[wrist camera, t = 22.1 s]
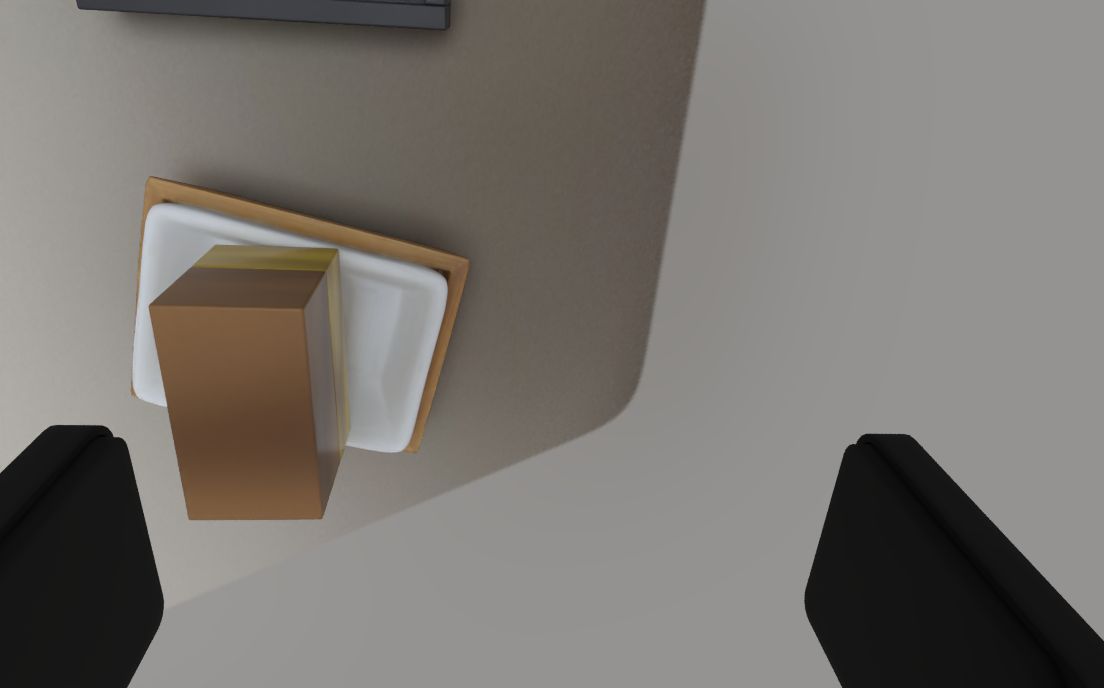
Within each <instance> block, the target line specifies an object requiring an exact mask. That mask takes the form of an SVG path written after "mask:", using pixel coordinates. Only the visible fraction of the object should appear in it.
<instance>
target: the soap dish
mask: <svg viewBox="0 0 1104 688" xmlns="http://www.w3.org/2000/svg"><path fill="white" fill-rule="evenodd" d="M216 244H218V245H249V246H279V247H310V248H337V249H338V250H339V260H340V275H341V290H342V305H343V320H344V335H345V350H346V365H347V380H348V396H349V411H350V426H351V429H350V432H349V435H348V438H347V442H346V446H351V447H356V448H361V449H366V450H373V451H379V452H388V453H393V452H400V451H406V452H413V453H414V452H417V450H418V449H419V446H420V443H421V440H422V436H423V433H424V429H425V425H426V422H427V419H428V416H429V412H430V408H431V405H432V401H433V398H434V394H435V390H436V387H437V383H438V380H439V376H440V373H441V369H442V366H443V362H444V358H445V354H446V351H447V347H448V344H449V340H450V336H451V332H452V328H453V325H454V321H455V318H456V314H457V311H458V307H459V303H460V300H461V296H462V292H463V289H464V285H465V281H466V277H467V274H468V270H469V265H470V260H469V259H467V258H465V257H462V256H459V255H456V254H453V253H450V252H448V251H444V250H441V249H437V248H434V247H430V246H426V245H422V244H418V243H415V242H411V241H407V240H403V239H399V238H395V237H392V236H388V235H384V234H380V233H376V232H373V231H369V230H365V229H361V228H357V227H353V226H350V225H346V224H342V223H338V222H334V221H330V220H327V219H323V218H319V217H315V216H311V215H307V214H304V213H300V212H296V211H292V210H288V209H285V208H281V207H277V206H273V205H269V204H265V203H262V202H258V201H254V200H250V199H246V198H243V197H239V196H235V195H231V194H227V193H224V192H220V191H216V190H212V189H208V188H204V187H200V186H195V185H190V184H186V183H181V182H177V181H172V180H167V179H162V178H158V177H152V176H151V177H149V178H148V179H147V182H146V187H145V196H144V207H143V219H142V229H141V240H140V252H139V267H138V278H137V298H136V319H135V331H134V333H135V334H134V347H133V364H132V382H131V394H132V395H133V396H135V397H137V398H140V399H142V400H144V401H147V402H150V403H153V404H156V405H160V406H164V407H167V402H166V397H165V392H164V386H163V381H162V376H161V371H160V365H159V360H158V355H157V350H156V344H155V339H154V334H153V328H152V323H151V318H150V313H149V304H150V303H152V302H153V301H154V300H155V299H156V298H157V297H158V296H159V295H160V294H161V293H163V292H164V291H165V290H166V289H167V288H168V287H169V286H170V285H171V284H172V283H174V282H175V281H176V280H177V279H178V278H179V277H180V276H181V275H182V274H184V273H185V272H186V271H187V270H188V269H189V268H191V267H192V265H193V264H194V263H195V262H197V261H198V260H199V259H200V258H201V257H202V256H203V255H204V254H205V253H207V252H208V251H209V250H210V249H211V248H212V247H213V246H214V245H216Z"/></svg>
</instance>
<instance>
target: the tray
mask: <svg viewBox="0 0 1104 688" xmlns="http://www.w3.org/2000/svg"><path fill="white" fill-rule="evenodd" d="M76 1H77V6H78V8H79V9H85V10H102V11H119V12H137V13H154V14H171V15H189V16H206V17H223V18H241V19H258V20H275V21H292V22H310V23H327V24H344V25H362V26H379V27H396V28H414V29H431V30H446V29H448V28H449V27H450V0H76Z"/></svg>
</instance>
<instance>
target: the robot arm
mask: <svg viewBox="0 0 1104 688" xmlns="http://www.w3.org/2000/svg"><path fill="white" fill-rule="evenodd" d="M804 602H805V610H806V614H807V617H808V619H809V622H810V624H811V626H812V628H813V630H814V632H815V634H816V636H817V638H818V640H819V642H820V644H821V646H822V648H823V650H824V652H825V654H826V656H827V658H828V660H829V662H830V664H831V666H832V668H833V670H834V672H835V674H836V676H837V678H838V680H839V682H840V684H841V686H842V688H1104V641H1103V640H1102V639H1101V638H1100V637H1099V636H1098V634H1096V632H1095V631H1094V630H1093V629H1092V628H1091V627H1090V626H1089V625H1088V624H1087V623H1086V622H1085V621H1084V619H1083V618H1082V617H1081V616H1080V615H1079V614H1078V613H1077V612H1076V611H1075V610H1074V609H1073V608H1072V607H1071V606H1070V604H1068V602H1067V601H1066V600H1065V599H1064V598H1063V597H1062V596H1061V595H1060V594H1059V593H1058V592H1057V591H1056V590H1055V589H1054V587H1053V586H1051V584H1050V583H1049V582H1048V581H1047V580H1046V579H1045V578H1044V577H1043V576H1042V575H1041V574H1040V572H1039V571H1038V570H1037V569H1036V568H1035V567H1034V566H1033V565H1032V564H1031V563H1030V562H1029V561H1028V560H1027V559H1026V557H1025V556H1024V555H1023V554H1022V553H1021V552H1020V551H1019V550H1018V549H1017V548H1016V547H1015V546H1014V545H1013V544H1012V543H1011V542H1010V540H1009V539H1008V538H1007V537H1006V536H1005V535H1004V534H1003V533H1002V532H1001V531H1000V530H999V529H998V528H997V527H996V525H995V524H994V523H993V522H992V521H991V520H990V519H989V518H988V517H987V516H986V515H985V514H984V513H983V512H982V510H981V509H979V507H978V506H977V505H976V504H975V503H974V502H973V501H972V500H971V499H970V498H969V497H968V496H967V494H966V493H965V492H964V491H963V490H962V489H961V488H960V487H959V486H958V485H957V484H956V483H955V482H954V481H953V480H952V479H951V477H950V476H949V475H948V474H947V473H946V472H945V471H944V470H943V469H942V468H941V467H940V466H939V465H938V464H937V462H935V460H934V459H933V458H932V457H931V456H930V455H929V454H928V453H927V452H926V451H925V450H924V449H923V447H922V446H921V445H920V444H919V443H918V442H917V441H916V440H915V439H914V438H912V437H911V436H910V435H906V434H865V435H862V436H861V437H860V438H859V439H858V441H857V443H856V444H852V445H849V446H848V447H847V449H846V450H845V453H844V455H843V459H842V462H841V466H840V469H839V473H838V477H837V480H836V484H835V487H834V491H833V494H832V498H831V501H830V505H829V508H828V512H827V515H826V519H825V523H824V526H823V530H822V534H821V537H820V540H819V544H818V547H817V551H816V554H815V558H814V562H813V565H812V569H811V572H810V576H809V579H808V583H807V586H806V590H805V600H804ZM163 610H164V599H163V593H162V589H161V585H160V581H159V576H158V572H157V568H156V564H155V560H154V555H153V551H152V547H151V543H150V539H149V534H148V530H147V526H146V522H145V518H144V513H143V509H142V505H141V501H140V497H139V492H138V488H137V484H136V480H135V475H134V471H133V467H132V463H131V459H130V454H129V450H128V447H127V444H126V442H125V441H124V440H123V439H122V438H120V437H113V434H112V432H111V431H110V430H109V429H108V428H107V427H105V426H101V425H54V426H50V427H49V428H47V429H46V430H44V431H43V432H42V433H41V434H40V435H39V436H38V437H37V438H36V439H35V440H34V441H33V442H32V443H31V444H30V445H29V446H28V447H27V448H26V449H25V450H24V451H23V452H22V453H21V454H20V455H19V456H18V457H17V458H15V459H14V460H13V461H12V462H11V463H10V464H9V465H8V466H7V467H6V468H5V469H4V470H3V471H2V472H1V473H0V688H127V687H128V685H129V683H130V681H131V679H132V677H133V676H134V674H135V672H136V670H137V668H138V666H139V664H140V662H141V660H142V659H143V657H144V655H145V653H146V651H147V649H148V647H149V645H150V643H151V641H152V640H153V638H154V636H155V634H156V632H157V630H158V628H159V626H160V623H161V620H162V616H163Z"/></svg>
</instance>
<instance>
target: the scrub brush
mask: <svg viewBox="0 0 1104 688" xmlns="http://www.w3.org/2000/svg"><path fill="white" fill-rule="evenodd" d="M149 313H150V318H151V323H152V328H153V334H154V339H155V344H156V350H157V355H158V360H159V365H160V371H161V376H162V381H163V386H164V392H165V397H166V402H167V408H168V413H169V418H170V423H171V429H172V434H173V439H174V444H175V450H176V455H177V460H178V466H179V471H180V476H181V481H182V487H183V492H184V497H185V502H186V508H187V513H188V518H189V520H299V519H322V518H323V515H324V512H325V509H326V506H327V502H328V499H329V496H330V493H331V489H332V486H333V483H334V480H335V477H336V473H337V470H338V467H339V464H340V461H341V458H342V454H343V451H344V448H345V445H346V442H347V438H348V435H349V432H350V429H351V426H350V411H349V396H348V380H347V365H346V350H345V335H344V320H343V305H342V290H341V275H340V260H339V250H338V249H337V248H310V247H279V246H249V245H218V244H216V245H214V246H213V247H212V248H211V249H210V250H209V251H208V252H207V253H205V254H204V255H203V256H202V257H201V258H200V259H199V260H198V261H197V262H195V263H194V264H193V265H192V267H191V268H189V269H188V270H187V271H186V272H185V273H184V274H182V275H181V276H180V277H179V278H178V279H177V280H176V281H175V282H174V283H172V284H171V285H170V286H169V287H168V288H167V289H166V290H165V291H164V292H163V293H161V294H160V295H159V296H158V297H157V298H156V299H155V300H154V301H153V302H152V303H150V304H149Z"/></svg>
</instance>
